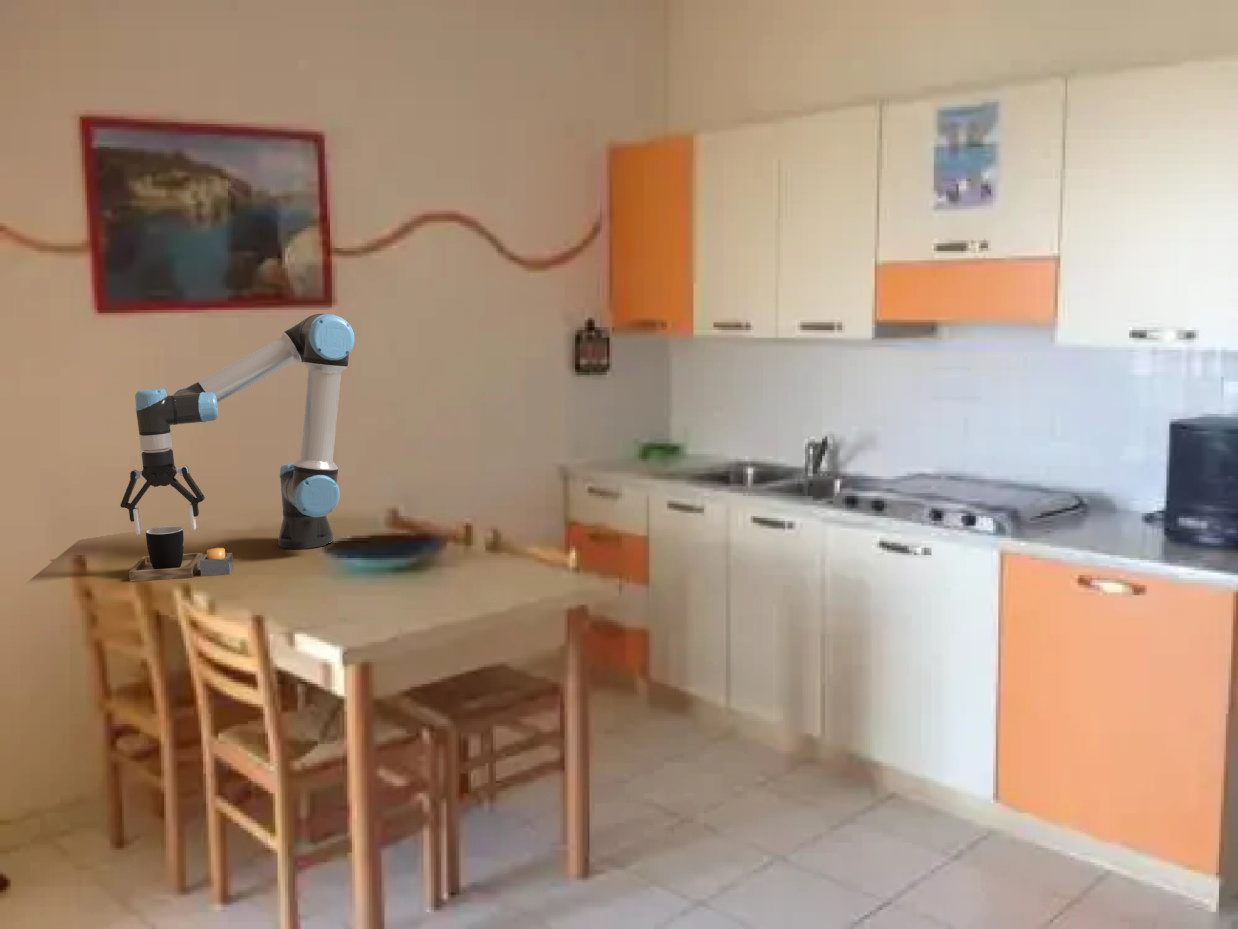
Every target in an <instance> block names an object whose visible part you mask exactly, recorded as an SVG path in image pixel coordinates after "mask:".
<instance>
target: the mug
mask: <svg viewBox="0 0 1238 929" xmlns="http://www.w3.org/2000/svg"><path fill="white" fill-rule="evenodd" d="M145 538H146V540H145V541H146V546H147V552H148V556H149V557H150V561H151V564H152V567H153V569H169V568H180V567H181V564H182V559H183V554H184V528H183V527H180V526H174V525H173V526H170V525H169V526H159V527H153V528H150V529H148V530H146V531H145Z"/></svg>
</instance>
